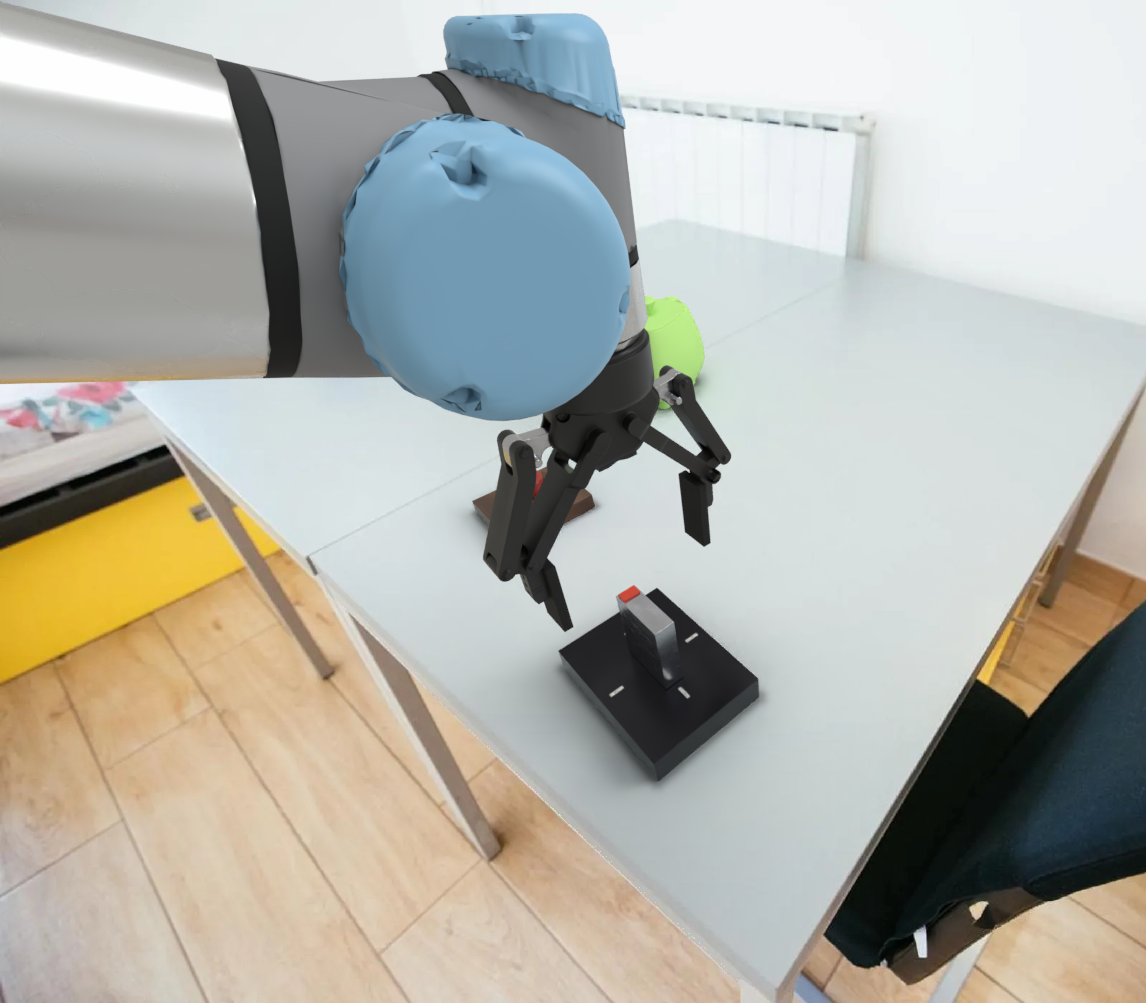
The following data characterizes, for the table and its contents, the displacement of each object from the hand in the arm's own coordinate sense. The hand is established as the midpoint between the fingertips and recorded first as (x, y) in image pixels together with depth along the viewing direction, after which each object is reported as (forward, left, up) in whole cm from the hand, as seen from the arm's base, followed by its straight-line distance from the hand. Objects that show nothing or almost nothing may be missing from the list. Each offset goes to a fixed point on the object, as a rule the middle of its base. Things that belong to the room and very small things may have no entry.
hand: (633, 576), depth 51 cm
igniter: (+4, +33, -15) cm, 37 cm away
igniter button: (+4, +33, -12) cm, 35 cm away
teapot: (+32, +50, -15) cm, 61 cm away
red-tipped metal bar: (0, 0, -12) cm, 12 cm away
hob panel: (0, 0, -15) cm, 15 cm away
